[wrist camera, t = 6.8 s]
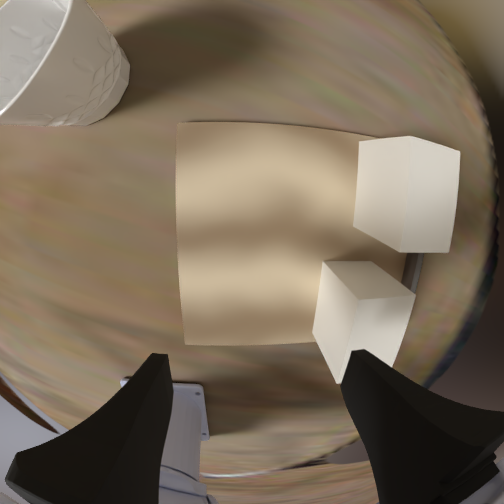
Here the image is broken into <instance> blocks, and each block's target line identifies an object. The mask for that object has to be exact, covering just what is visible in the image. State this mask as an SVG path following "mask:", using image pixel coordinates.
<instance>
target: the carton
mask: <svg viewBox="0 0 504 504" xmlns="http://www.w3.org/2000/svg"><path fill="white" fill-rule="evenodd" d="M415 297H416V295H415V294H414V293H413V292H411V291H410V290H409V289H408V288H406V287H405V286H404V285H402V284H401V283H400V282H399V281H397V280H396V279H395V278H393V277H392V276H391V275H389V274H388V273H387V272H385V271H384V270H383V269H381V268H380V267H379V266H377V265H376V264H375V263H373V262H372V261H323V263H322V270H321V278H320V285H319V293H318V299H317V306H316V312H315V319H314V325H313V331H312V333H313V335H314V337H315V339H316V342H317V344H318V346H319V348H320V350H321V352H322V354H323V356H324V358H325V360H326V362H327V364H328V366H329V369H330V371H331V373H332V375H333V377H334V379H335V381H336V383H337V384H338V383H341V382H342V379H343V376H344V373H345V370H346V367H347V364H348V361H349V358H350V354H351V351H352V350H361V349H365V350H367V351H369V352H370V353H372V354H373V355H375V356H376V357H378V358H379V359H380V360H382V361H383V362H385V363H386V364H388V365H389V366H390V367H392V366H393V363H394V361H395V358H396V356H397V353H398V350H399V348H400V345H401V342H402V339H403V336H404V333H405V330H406V327H407V324H408V321H409V318H410V315H411V311H412V308H413V304H414V301H415Z"/></svg>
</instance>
